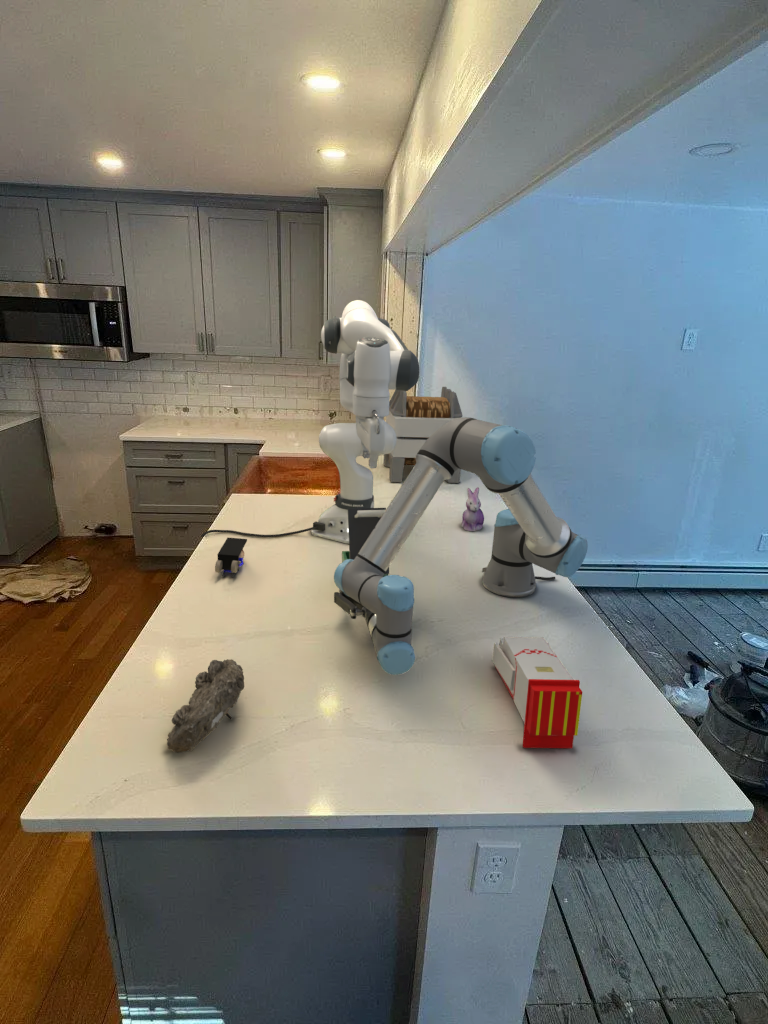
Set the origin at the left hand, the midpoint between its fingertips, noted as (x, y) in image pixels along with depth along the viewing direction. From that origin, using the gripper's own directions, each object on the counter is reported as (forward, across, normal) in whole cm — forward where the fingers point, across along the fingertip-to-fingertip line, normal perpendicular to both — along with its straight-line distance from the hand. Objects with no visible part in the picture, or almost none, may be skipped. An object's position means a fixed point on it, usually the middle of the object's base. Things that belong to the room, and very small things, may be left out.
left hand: (369, 462), depth 143 cm
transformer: (+38, +120, -47) cm, 134 cm away
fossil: (+38, -44, +37) cm, 69 cm away
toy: (+38, -48, -26) cm, 66 cm away
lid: (+21, -2, 0) cm, 21 cm away
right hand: (+31, -4, 0) cm, 31 cm away
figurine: (+38, +48, -48) cm, 78 cm away
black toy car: (+38, +21, +36) cm, 56 cm away
